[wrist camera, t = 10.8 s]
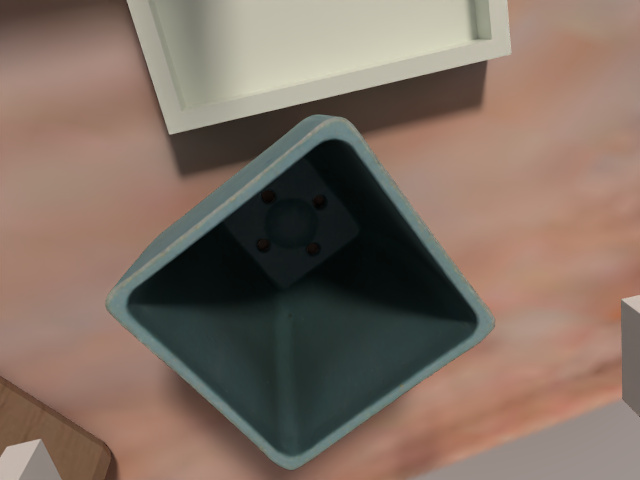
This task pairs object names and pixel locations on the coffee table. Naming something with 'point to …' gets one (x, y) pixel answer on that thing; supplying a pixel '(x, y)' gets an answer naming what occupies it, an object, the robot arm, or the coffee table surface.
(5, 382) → the wooden block
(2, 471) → the robot arm
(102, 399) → the coffee table surface
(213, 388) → the flower pot
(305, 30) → the tray
